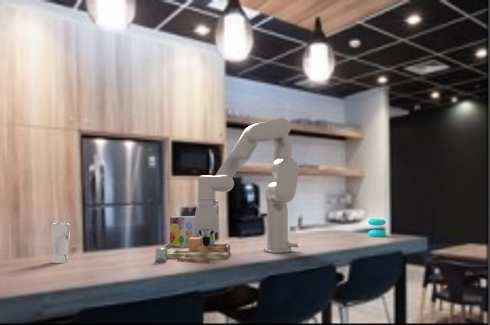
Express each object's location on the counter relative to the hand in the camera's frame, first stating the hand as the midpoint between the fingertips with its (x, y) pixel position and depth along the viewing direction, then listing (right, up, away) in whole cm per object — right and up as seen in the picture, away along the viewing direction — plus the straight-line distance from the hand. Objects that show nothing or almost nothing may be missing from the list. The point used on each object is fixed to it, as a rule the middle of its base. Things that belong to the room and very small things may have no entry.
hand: (206, 245), depth 182 cm
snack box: (-9, -5, +20) cm, 23 cm away
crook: (-3, -3, -16) cm, 16 cm away
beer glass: (-56, -3, -18) cm, 59 cm away
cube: (-5, -2, 0) cm, 5 cm away
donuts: (+95, -8, +66) cm, 116 cm away
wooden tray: (-4, -4, -3) cm, 6 cm away
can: (-16, -3, -16) cm, 23 cm away
